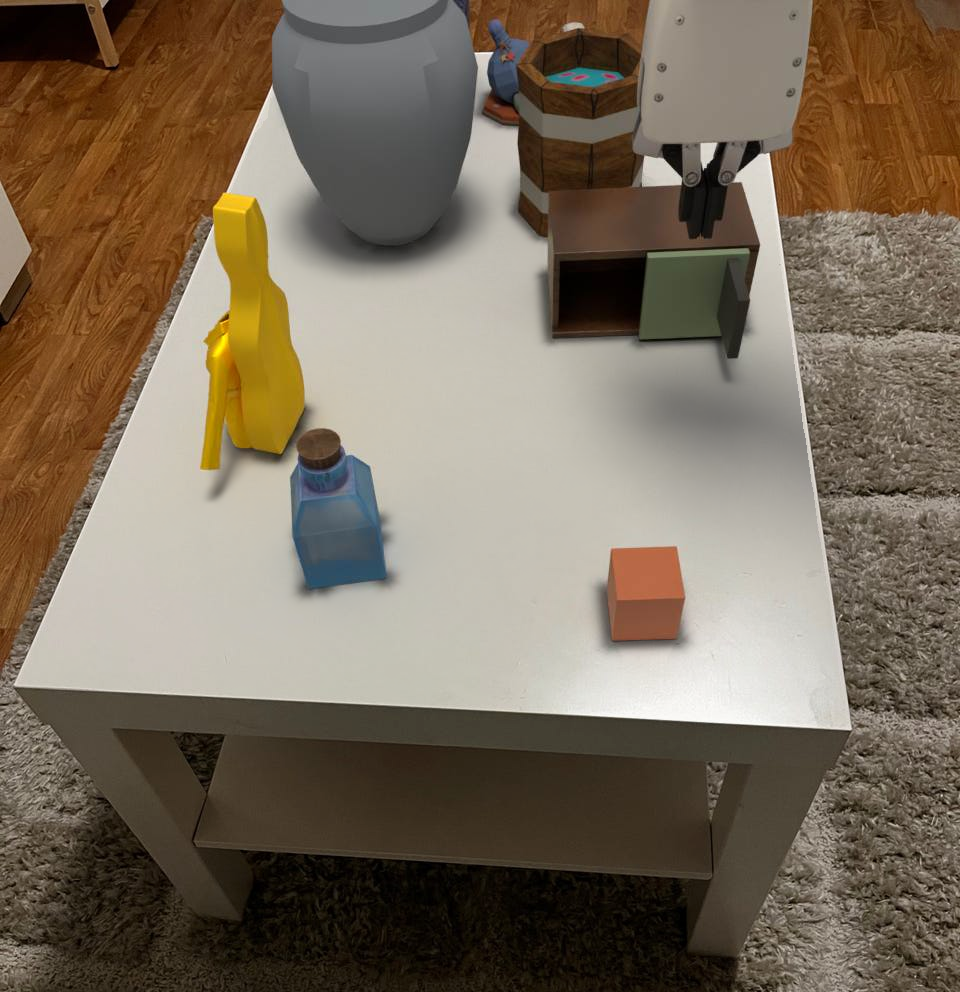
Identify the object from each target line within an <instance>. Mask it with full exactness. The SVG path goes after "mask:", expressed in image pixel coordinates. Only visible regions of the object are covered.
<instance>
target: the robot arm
mask: <svg viewBox="0 0 960 992" xmlns="http://www.w3.org/2000/svg"><path fill="white" fill-rule="evenodd" d="M813 1H814V0H649V2H648V8H647V14H646V19H645V26H644V32H643V33H644V34H643V40H642V44H643V46H642V53H641V61H640V69H639V77H638V88H637V108H638V111H640V112H639V115H638V118H637V121H636V124H635V127H634V130H633V133H632V137H631V142H632V148H633V151H634V152H635V153H636V154H640V155H644V157H649V158H655V159H663V160H664V161H665V162H666V163H667V165H669V166H670V167H671V168H672V169H673V170H674V172H676V174H677V175H679V177H680V178H681V184H680V185H681V191H680V199H679V207H678V217H679V222H686V226H687V231H688V236H689V239H697V237H700V233H701V237H704V239H711V238H712V234H713V228H714V222H715V221H721V220H722V218H723V212H724V206H725V200H726V194H727V189H728V185H730V184H731V183H733V182H735V180H736V178H737V175H738V173H739V172H741V171H742V170H743V169H745V168H746V166H748V165H749V164H750V163H751V162H753V161H754V160H755V159H756V158H757V157H758V156H759V155H762V154H763V155H766V154H771V153H774V152H778V151H781V150H784V149H787V148H789V147H790V146H791V145H792V144H793V140H794V135H793V134H794V133H793V126H794V125H795V122H796V120H797V116H798V112H799V108H800V104H801V99H802V92H803V86H804V81H805V74H806V67H807V60H808V52H809V51H808V50H809V44H810V43H809V42H810V35H811V25H812V14H813ZM712 143H713V144H714V143H715V144H716V146H715V149H714V152H713V155H712V159H711V160H710V161H709V163H706V167H703V162H702V160H701V159H702V157H701V156H702V155H701V154H702V151H701V150H702V148H701V147H702V146H701V144H712Z"/></svg>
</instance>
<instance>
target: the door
mask: <svg viewBox="0 0 960 992" xmlns="http://www.w3.org/2000/svg"><path fill="white" fill-rule="evenodd" d="M749 255H750V252H749V249H748V248H741V249H719V250H696V251H674V252H651V253H647V260H646V269H645V279H644V288H643V297H642V306H641V316H640V325H639V335H638V340H659V339H661V340H662V339H681V338H684V339H685V338H704V337H707V338H708V337H721V341H722V345H723V348H724V352H725V357H726V359H727V360H730V359H732V360H733V359H739V356H740V355H739V354H740V350H741V346H742V340H743V336H744V332H745V327H746V324H747V323H746V322H747V318H748V313H749V309H750V305H751V299H750V296H749V294H748V290H747V287H746V283H745V275H746V270H747V265H748V260H749Z"/></svg>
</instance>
